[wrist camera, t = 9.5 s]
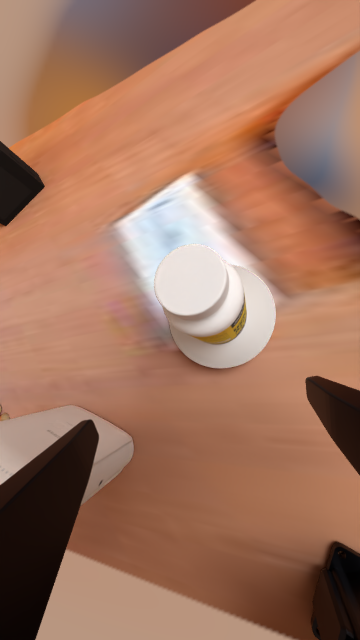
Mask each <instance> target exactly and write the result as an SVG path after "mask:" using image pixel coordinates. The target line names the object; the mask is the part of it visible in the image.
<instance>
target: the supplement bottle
mask: <svg viewBox="0 0 360 640" xmlns="http://www.w3.org/2000/svg"><path fill="white" fill-rule="evenodd" d="M154 290H155V294H156V297H157V299H158V301H159V302H160V304H161V305H162V306H163V310H164V313H165V315H166V317H167V318H168V320H169V321H170V323H171V324H172V325H173V326H174V327H175V328H176V329H178V330H179V331H181V332H183V333H185V334H187V335H189V336H192V337H194V338H196V339H199V340H201V341H203V342H206V343H209V344H214V345H218V344H225V343H228V342H230V341H232V340H234V339H235V338H236V337H237V336H238V335H239V334H240V333H241V332H242V330H243V328H244V326H245V323H246V319H247V310H246V302H245V294H244V288H243V284H242V281H241V278H240V276H239V274H238V273H237V271H236V270H235V269H234V267H232V266H231V265H230V264H229V263H228V262H226V261H225V260H223V259H222V258H221V257H220V255H219V254H218V253H217V252H216V251H214V250H213V249H211V248H210V247H208V246H205V245H200V244H189V245H184V246H181V247H179V248H177V249H175V250H173V251H172V252H170V253H169V254H168V255H167V256H166V257H165V258H164V259H163V260H162V262H161V263H160V265H159V267H158V269H157V271H156V274H155V279H154Z"/></svg>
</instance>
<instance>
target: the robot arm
mask: <svg viewBox="0 0 360 640" xmlns="http://www.w3.org/2000/svg"><path fill="white" fill-rule="evenodd" d="M306 392H307V398H308V401H309V402H310V404H311V406H312V407H313V409H314V411H315V412H316V414H317V415H318V417H319V419H320V420H321V422H322V424H323V425H324V427H325V428H326V430H327V432H328V433H329V435H330V436H331V438H332V439H333V441H334V442H335V443H336V445H337V446H338V447H339V449H340V450H341V451H342V453H343V454H344V455H345V457H346V458H347V459H348V461H349V462H350V463H351V465H352V466H353V467H354V469H355V470H356V471H357V472H358V474H359V475H360V391H359V390H356V389H353V388H350V387H348V386H345V385H342V384H339V383H336V382H333V381H331V380H328V379H325V378H322V377H319V376H312V377H307V378H306ZM98 442H99V434H98V431H97V429H96V426H95V424H94V422H93V420H91V419H88V420H83V421H81V422H80V423H78V424H77V425H76V426H75V427H73V428H72V429H71V430H69V431H68V432H67V433H66V434H64V435H63V436H62V437H61V438H59V439H58V440H57V441H55V442H54V443H53V444H52V445H50V446H49V447H48V448H47V449H45V450H44V451H43V452H42V453H40V454H39V455H38V456H36V457H35V458H34V459H33V460H31V461H30V462H29V463H28V464H26V465H25V466H24V467H22V468H21V469H20V470H19V471H17V472H16V473H15V474H14V475H12V476H11V477H10V478H8V479H7V480H6V481H5V482H3V483H2V484H1V485H0V640H35V639H36V636H37V633H38V630H39V627H40V624H41V621H42V618H43V615H44V612H45V609H46V606H47V603H48V600H49V597H50V594H51V592H52V589H53V586H54V583H55V580H56V577H57V574H58V571H59V568H60V565H61V562H62V559H63V556H64V553H65V550H66V547H67V544H68V541H69V538H70V535H71V532H72V529H73V526H74V523H75V520H76V517H77V514H78V511H79V508H80V506H81V503H82V500H83V497H84V494H85V491H86V488H87V485H88V481H89V478H90V475H91V471H92V467H93V463H94V458H95V454H96V450H97V446H98ZM339 551H343V552H344V554H342V555H341V554H339V553H338V552H339ZM312 603H313V608H314V612H313V615H312V619H311V626H312V630H313V633H314V635H315V636H316V637H317V638H318V639H319V640H360V554H359V553H357V552H355V551H354V550H352V549H350V548H348V547H347V546H345V545H343V544H341V543H334V544H333V546H332V550H331V553H330V557H329V560H328V563H327V567H326V568H324V569H323V570H321V574H320V577H319V581H318V584H317V588H316V591H315V594H314V598H313V602H312ZM317 627H318V629H319V630H318V629H317Z"/></svg>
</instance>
